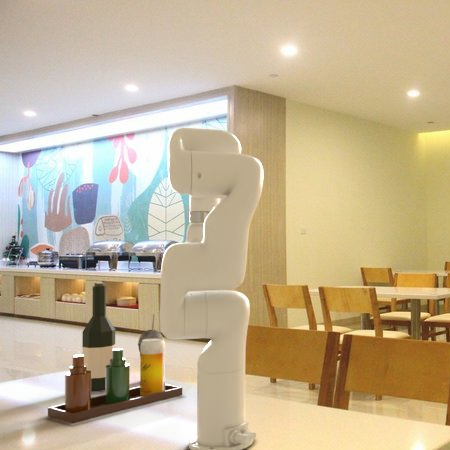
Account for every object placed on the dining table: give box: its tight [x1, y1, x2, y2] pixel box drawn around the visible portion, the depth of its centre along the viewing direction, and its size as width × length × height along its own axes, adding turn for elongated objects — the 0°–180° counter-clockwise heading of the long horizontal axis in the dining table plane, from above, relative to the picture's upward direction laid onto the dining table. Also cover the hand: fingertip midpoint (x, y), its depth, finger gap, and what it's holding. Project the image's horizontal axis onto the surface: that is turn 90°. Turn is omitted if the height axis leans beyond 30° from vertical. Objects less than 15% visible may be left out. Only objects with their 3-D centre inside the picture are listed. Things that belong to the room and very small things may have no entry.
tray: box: [47, 383, 183, 424], centre depth 153 cm, size 11×30×3 cm, turn 147°
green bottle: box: [104, 347, 131, 405], centre depth 153 cm, size 6×6×14 cm
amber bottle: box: [64, 354, 92, 413], centre depth 144 cm, size 6×6×14 cm
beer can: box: [139, 337, 166, 396], centre depth 161 cm, size 6×6×15 cm
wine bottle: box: [81, 282, 116, 393], centre depth 171 cm, size 8×8×30 cm
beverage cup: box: [137, 313, 164, 353], centre depth 179 cm, size 7×7×20 cm
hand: (204, 284), depth 159 cm, fingers open, 9 cm apart
